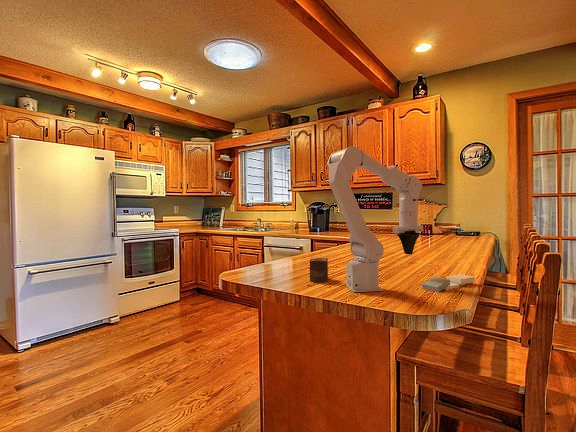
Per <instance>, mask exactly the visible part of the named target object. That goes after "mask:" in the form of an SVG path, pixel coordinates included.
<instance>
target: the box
mask: <svg viewBox="0 0 576 432" xmlns="http://www.w3.org/2000/svg"><path fill="white" fill-rule="evenodd" d="M328 279H329V260H328V258H326V257H325V258H323V257H321V258H319V257H317V258H313V257H312V258H311V259H310V260H309V282H314V281H319V282H320V281H321V283H326V282H328ZM319 282H318V283H319Z"/></svg>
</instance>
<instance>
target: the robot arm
mask: <svg viewBox="0 0 576 432" xmlns="http://www.w3.org/2000/svg"><path fill="white" fill-rule="evenodd" d="M326 165H327V167H328V184H329V187H330V189H331V192H332V194H333V195H334V198H335V200H336V203H337V205H338V209H340V212H341V214H342V217H343V219H344V221H345V224H346V225H347V228H348V231H349V232H350V236H349V237H348V241H349V245H350V246H349V247H350V252H351V254H352V255H353V260H350V261H347V262H346V263H347V264H346V284H345V287H346V288H348V289H350V291H352V292H353V293H363V292H365V293H366V292H367V293H368V292H369V293H370V292H384V291H385V290H384V289H383V288H382V287H381V286H379V263H380V261H381V258H382V257H383V255H384V252H385V251H384V250H385V249H384V245H383V244H382V242H381V241H379V239H378V238H377V236H376V234H375V233H374V232H373V231H371V230H370V229H369V228H368V225H367V223H366V221H365V217H364V216H363V212H362V210H361V207H360V206H359V203H358V201H357V199H356V197H355V195H354V192H353V190H352V187H351V185H350V180H351V178H352V176H353V174H354V173H355V172H356V171H357V169H359V168H360V169H363V170H365V171H367V172H370V173H372V174H374V175H375V176H376V175H377V176H378V177H380V181H381V182H382V183H384V184H386V185H387V186H390V187H391V188H394V189H395V191H396V193H397V194H399V196H398V197H399V199H398V200H399V203H398V205H399V210H398V211H399V212H398V213H399V218H398V220H399V221H398V223H399V224H398V226H392V234H397V237H398V238H399V240H400V242H401V244H402V245H401V246H402V249H403V252H404V254H405V255H413V252H414V249H415V245H416V242H417V240H418V238H419V237H420V232H423V231H424V225H419V222H418V220H419V218H418V217H419V216H418V215H419V198H420V192H421V191H422V190H423V184H422V181H421V180H420V179H419V177H417V176H416V175H415V176H414V175H412V176H411V175H409V173H408V172H404V171H402V170H400V169H398V166H396V165H389V166H385V165H384V164H383V163H381V162H379V161H378V160H376V159H374V158H372V157H371V156H369V155H368V154H367V153H366V152H365V150H363V149H359V148H358V147H356V146H353V145H350V146H348V147H346V148H343V149H341V150H336V151H334V152H332V153H331V155H330V156H329V158H328V160H327V164H326Z"/></svg>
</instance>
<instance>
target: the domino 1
mask: <svg viewBox="0 0 576 432" xmlns="http://www.w3.org/2000/svg"><path fill="white" fill-rule="evenodd" d="M449 285H450V280H449V279H447V278H443V277H438V276H433V277H432V278H430V279H428V280H427V281H424V282H422V283H421V287H422V289H423V290H426V291H431V292H434V293H439V292H441V291H443V289H444V288H446V287H447V286H449Z"/></svg>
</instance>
